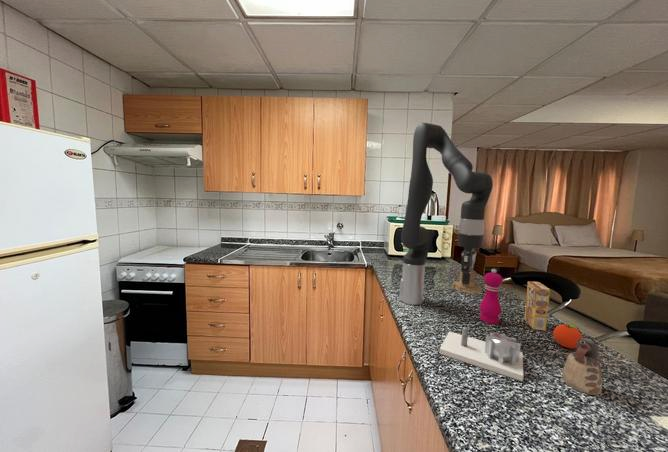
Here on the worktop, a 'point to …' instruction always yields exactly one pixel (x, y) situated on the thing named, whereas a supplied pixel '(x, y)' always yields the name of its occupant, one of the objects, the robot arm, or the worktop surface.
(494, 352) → the sun gear
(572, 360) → the figurine
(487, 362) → the carrier plate
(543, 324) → the candy box
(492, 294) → the pepper mill
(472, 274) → the planet gear
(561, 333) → the clementine
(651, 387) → the worktop surface
